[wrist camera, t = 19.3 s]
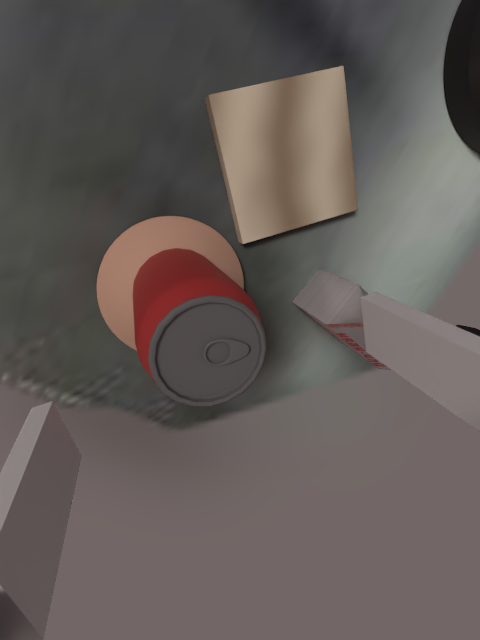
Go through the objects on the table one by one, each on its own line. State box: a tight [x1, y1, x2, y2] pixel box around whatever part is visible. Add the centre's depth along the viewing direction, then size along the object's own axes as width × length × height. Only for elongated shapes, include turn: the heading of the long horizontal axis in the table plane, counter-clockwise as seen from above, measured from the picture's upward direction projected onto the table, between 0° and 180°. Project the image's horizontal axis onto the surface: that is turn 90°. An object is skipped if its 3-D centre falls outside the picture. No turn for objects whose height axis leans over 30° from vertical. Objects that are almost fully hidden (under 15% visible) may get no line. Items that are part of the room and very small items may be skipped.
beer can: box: [132, 248, 267, 406], centre depth 22 cm, size 7×7×12 cm
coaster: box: [97, 215, 244, 350], centre depth 28 cm, size 11×11×1 cm
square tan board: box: [205, 66, 358, 244], centre depth 27 cm, size 10×10×1 cm
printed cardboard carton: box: [293, 269, 391, 370], centre depth 29 cm, size 4×7×10 cm, turn 50°
